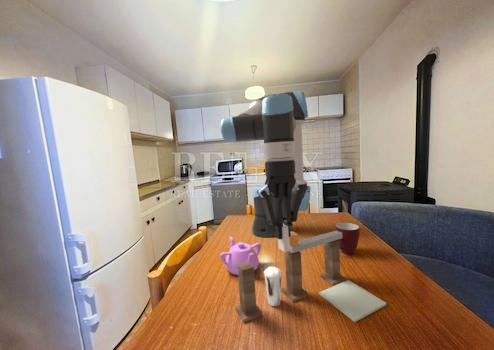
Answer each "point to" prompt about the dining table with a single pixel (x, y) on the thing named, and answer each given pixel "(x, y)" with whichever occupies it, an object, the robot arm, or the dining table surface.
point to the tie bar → (311, 241)
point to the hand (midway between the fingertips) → (283, 249)
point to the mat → (352, 300)
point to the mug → (348, 237)
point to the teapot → (240, 256)
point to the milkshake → (273, 285)
